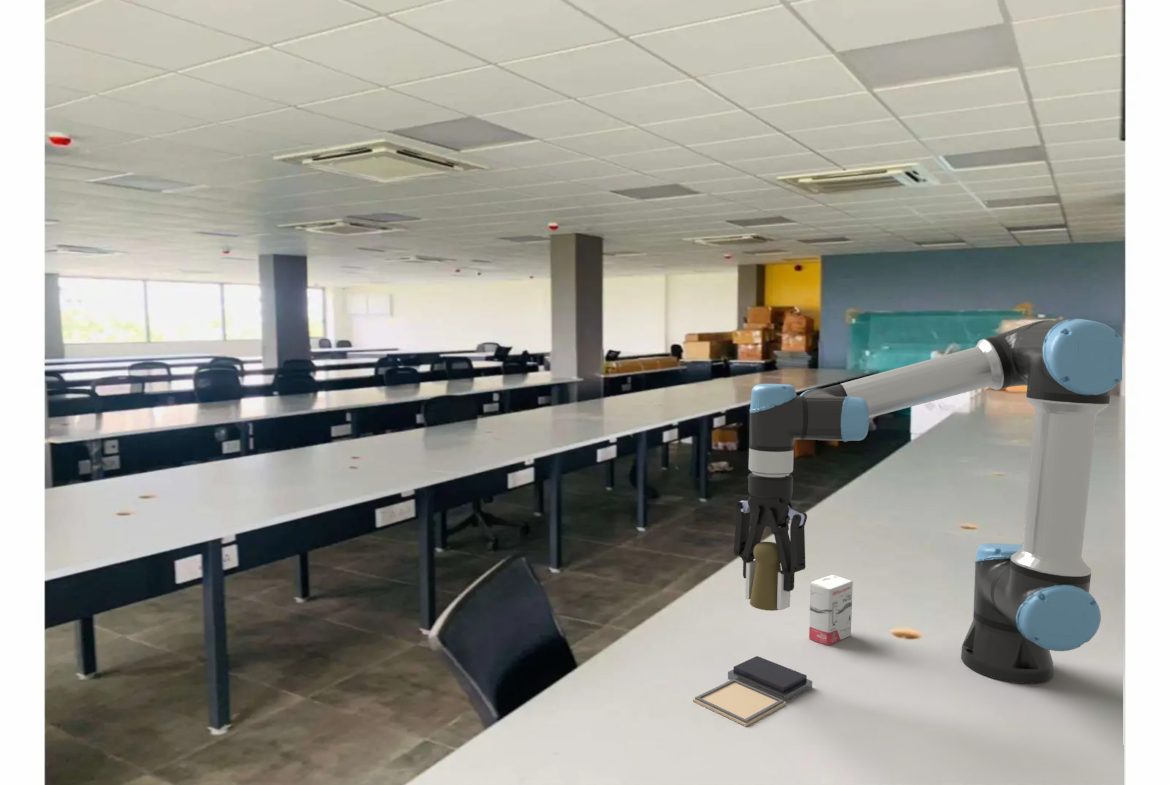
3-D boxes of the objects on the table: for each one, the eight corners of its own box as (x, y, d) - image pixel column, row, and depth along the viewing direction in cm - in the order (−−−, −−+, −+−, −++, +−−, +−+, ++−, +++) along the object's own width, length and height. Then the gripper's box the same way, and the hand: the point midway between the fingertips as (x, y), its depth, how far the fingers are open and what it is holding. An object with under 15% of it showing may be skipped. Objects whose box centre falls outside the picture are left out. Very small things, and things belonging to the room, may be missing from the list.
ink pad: (812, 687, 135) (812, 675, 135) (784, 702, 129) (784, 690, 129) (755, 664, 144) (756, 653, 144) (727, 678, 138) (728, 666, 138)
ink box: (828, 646, 152) (830, 588, 151) (807, 638, 156) (808, 582, 155) (852, 635, 158) (854, 579, 157) (831, 628, 162) (832, 573, 161)
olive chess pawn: (779, 598, 138) (781, 538, 137) (789, 610, 132) (790, 548, 131) (746, 598, 138) (747, 538, 137) (754, 610, 132) (755, 548, 131)
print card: (785, 704, 129) (786, 700, 129) (745, 726, 121) (745, 722, 121) (733, 681, 137) (733, 677, 137) (692, 701, 130) (693, 697, 130)
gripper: (831, 478, 128) (827, 612, 130) (740, 462, 142) (737, 584, 144) (805, 484, 123) (801, 623, 125) (714, 467, 137) (711, 592, 139)
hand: (767, 602), depth 135 cm, fingers closed on olive chess pawn, 6 cm apart
